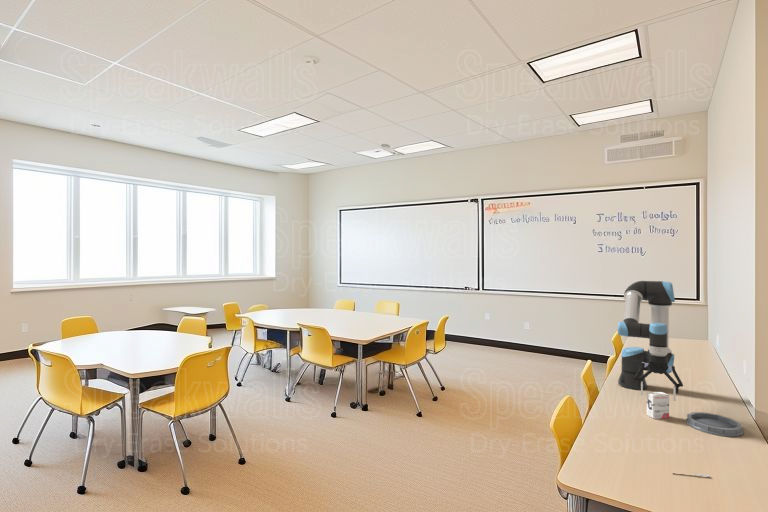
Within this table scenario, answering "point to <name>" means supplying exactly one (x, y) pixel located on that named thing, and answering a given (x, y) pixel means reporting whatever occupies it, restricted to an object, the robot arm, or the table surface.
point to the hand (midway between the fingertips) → (657, 397)
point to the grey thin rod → (702, 474)
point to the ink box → (658, 405)
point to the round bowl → (714, 424)
